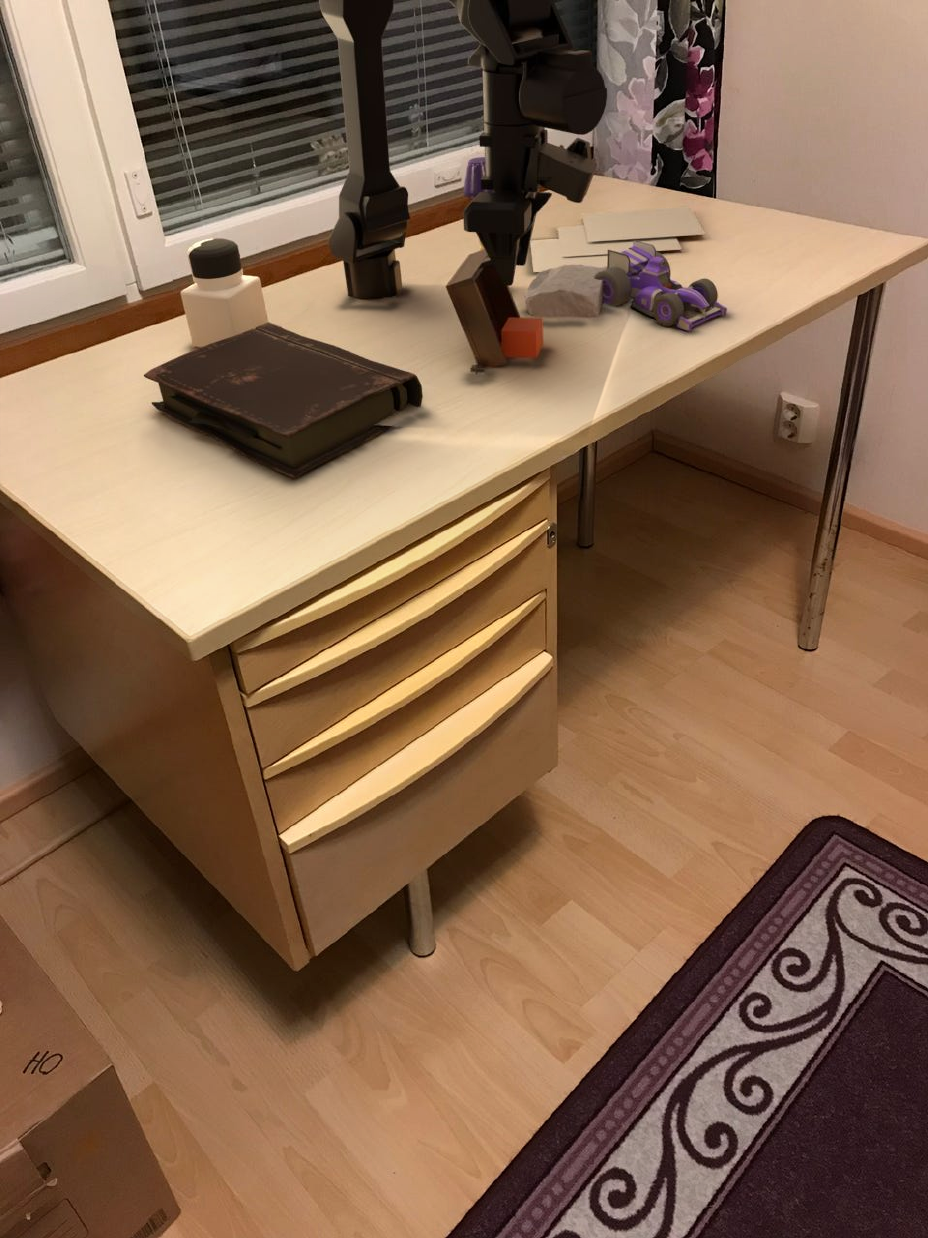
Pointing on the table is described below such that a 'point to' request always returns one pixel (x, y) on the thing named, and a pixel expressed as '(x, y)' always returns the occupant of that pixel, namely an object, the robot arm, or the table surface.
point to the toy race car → (656, 287)
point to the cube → (522, 337)
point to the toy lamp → (474, 180)
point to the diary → (283, 396)
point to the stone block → (566, 292)
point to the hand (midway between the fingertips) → (514, 274)
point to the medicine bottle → (220, 293)
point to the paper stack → (613, 236)
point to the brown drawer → (482, 307)
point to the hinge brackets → (478, 368)
